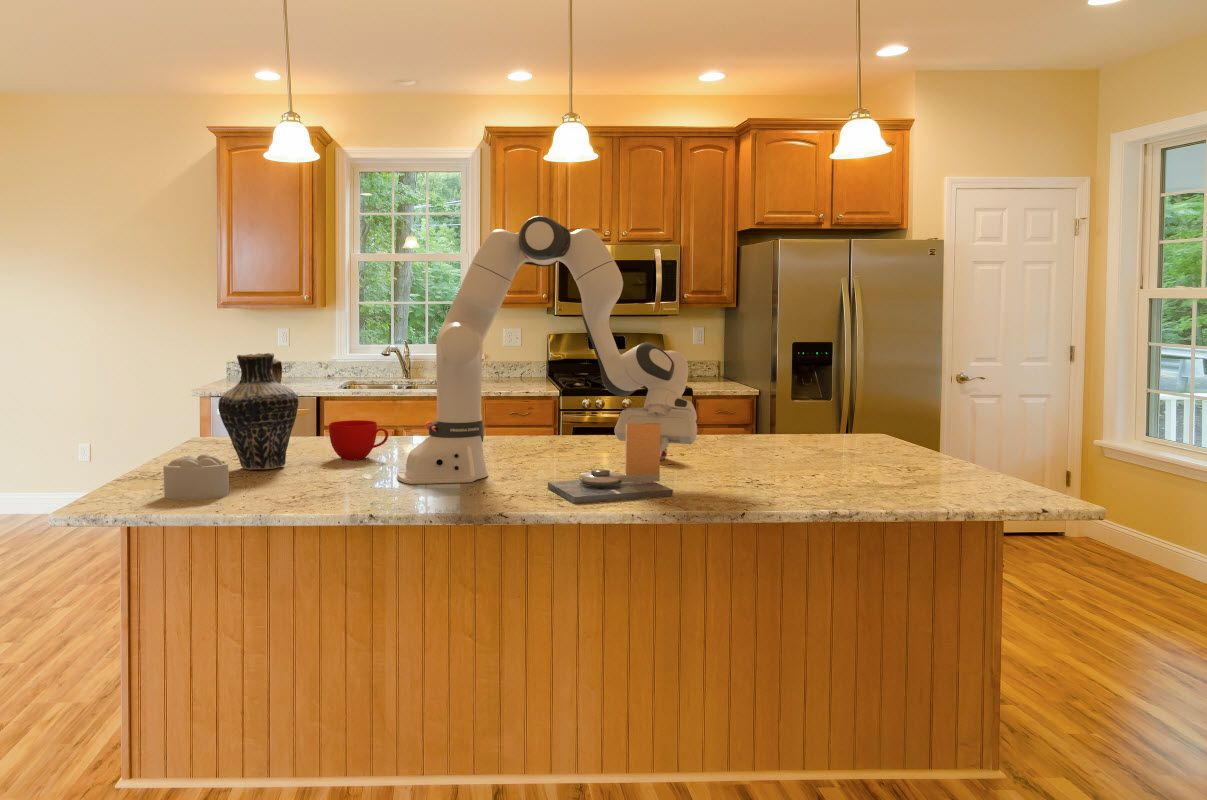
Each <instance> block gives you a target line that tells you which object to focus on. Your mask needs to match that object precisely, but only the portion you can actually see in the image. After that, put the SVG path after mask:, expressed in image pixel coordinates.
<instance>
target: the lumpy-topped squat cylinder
mask: <svg viewBox="0 0 1207 800" xmlns="http://www.w3.org/2000/svg"><path fill="white" fill-rule="evenodd" d="M229 472H230V471H229V463H228V462H227V461H225V460H221V459H220V458H218V457H216V456H211V455H209V454H200V455H198V456H197V457H194V456H189V455H188V456H187V455H186V456H181V457H178V458H175V459H172V460H171V461H170V462H169V463H168V464H164V465H163V488H164V489H163V490H164V491H163V493H164V495H163V496H164V499H167V500H178V501H179V500H180V501H194V500H195V501H196V500H197V501H200V500H210V499H211V500H212V499H218V498H224V497H228V496H229V495H230V479H229V478H230V477H229Z"/></svg>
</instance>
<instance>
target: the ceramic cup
mask: <svg viewBox="0 0 1207 800" xmlns="http://www.w3.org/2000/svg"><path fill="white" fill-rule="evenodd" d="M377 427H378V424H377V421H373V420H365V419H364V420H357V419H354V420H353V419H351V420H340V421H333V422H330V423H328V433H329V434H328V435H329V441H330V444H331V447H332V449H333V450H334V452H335V453H336V454H337V456H338V457H339V458H340V459H341V460H343V461H360V459H362V460H365V459H367V457H368V456H369V454H370V453H371V452H372V450H373V449H375V448H378V447H381V446H382V445H385V443H386V442H388V439H389V432H388V430H387V429H386V428H384V427H379V428H377ZM380 431H382V432H384V439H383V440H382V441H381V442H379V443H376V439H377V433H379V432H380ZM375 443H376V444H375Z"/></svg>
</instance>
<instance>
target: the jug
mask: <svg viewBox="0 0 1207 800" xmlns="http://www.w3.org/2000/svg"><path fill="white" fill-rule="evenodd" d="M274 357H275V353H269V352H268V353H259V352H258V353H255V354H252V353H251V354H250V353H249V354H237V356H236V358H237V361H238V365H239V368H240V373H241V374H240V378H239V379H240V380H239V381H238V383H237V384H236V385H234V386H233V387H232V388H230V389H229V390H227V391H225V392H224V393H223V394H222V395H221V396H220V398H219V399H218V407H217V408H218V412H219V413H218V414H219V416H220V419H221V421H222V424H223V426H224V428H225V430H226V432H227V434H228V436H229V438H230V441H231V444H232V446H233V449H234V451H235V452H236V455H237V457H238V460H239V463H240V466H241V468H242V469H245V470H271V469H277V468H280V467H283V466H285V465H286V464H287V463H286V461H287V460H286V458H287V449H288V446H289V443H290V438H291V434H292V430H293V427H294V425H295V421H296V418H297V413H298V407H299V397H298V395H297V394H296V392H295V391H294V390H292V389H291V388H289V387H288V386H285V385H283V384H282V383H281V382H282V376H283V364H282V362H281V360H279V359H277V358H274Z"/></svg>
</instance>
